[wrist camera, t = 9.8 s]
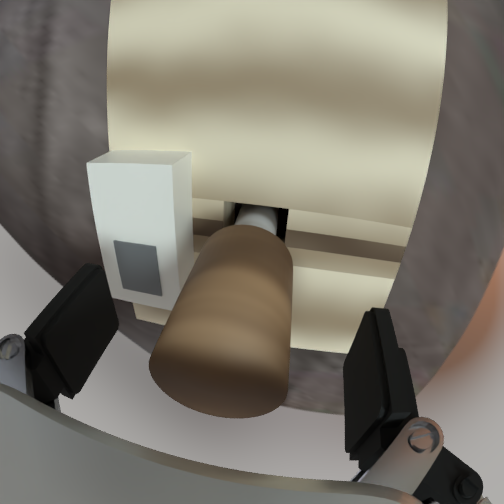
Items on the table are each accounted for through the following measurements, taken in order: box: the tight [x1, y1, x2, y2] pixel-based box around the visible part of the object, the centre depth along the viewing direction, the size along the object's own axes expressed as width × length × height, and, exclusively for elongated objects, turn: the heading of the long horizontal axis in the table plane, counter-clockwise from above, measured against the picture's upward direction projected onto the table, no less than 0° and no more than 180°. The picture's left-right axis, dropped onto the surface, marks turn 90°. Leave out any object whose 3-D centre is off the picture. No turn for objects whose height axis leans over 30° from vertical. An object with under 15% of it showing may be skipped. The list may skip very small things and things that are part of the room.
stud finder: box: [87, 150, 194, 311], centre depth 15 cm, size 8×4×2 cm, turn 176°
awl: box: [149, 203, 293, 418], centre depth 13 cm, size 4×4×12 cm
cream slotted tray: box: [107, 0, 447, 353], centre depth 15 cm, size 22×16×3 cm
